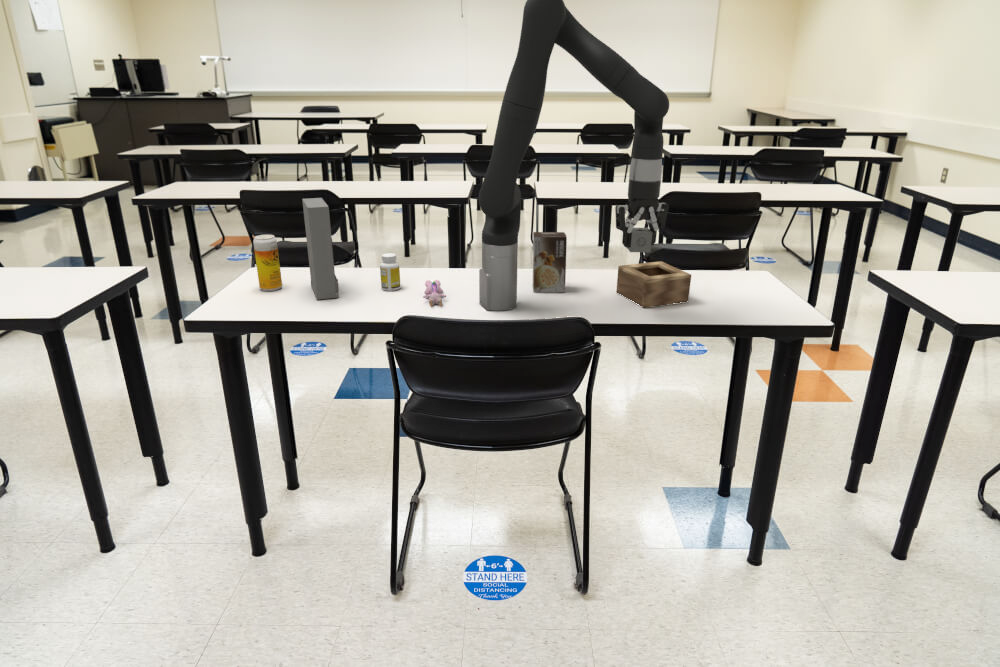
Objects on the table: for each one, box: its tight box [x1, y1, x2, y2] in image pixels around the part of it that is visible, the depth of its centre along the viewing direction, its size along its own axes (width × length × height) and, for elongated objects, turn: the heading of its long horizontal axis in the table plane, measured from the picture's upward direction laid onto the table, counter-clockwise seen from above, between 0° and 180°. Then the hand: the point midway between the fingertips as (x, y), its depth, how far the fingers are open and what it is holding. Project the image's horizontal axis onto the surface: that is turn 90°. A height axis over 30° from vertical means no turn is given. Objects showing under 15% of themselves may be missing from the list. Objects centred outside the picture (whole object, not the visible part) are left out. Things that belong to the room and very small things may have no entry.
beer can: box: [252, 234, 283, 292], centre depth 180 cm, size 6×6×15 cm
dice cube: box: [626, 227, 653, 253], centre depth 160 cm, size 5×5×5 cm
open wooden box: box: [616, 260, 692, 308], centre depth 177 cm, size 14×14×8 cm
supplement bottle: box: [379, 252, 401, 292], centre depth 182 cm, size 5×5×10 cm
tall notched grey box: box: [302, 197, 340, 301], centre depth 176 cm, size 14×6×25 cm, turn 22°
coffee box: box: [532, 231, 568, 294], centre depth 181 cm, size 9×6×16 cm
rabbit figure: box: [422, 279, 447, 308], centre depth 175 cm, size 6×6×15 cm
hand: (638, 245), depth 161 cm, fingers closed on dice cube, 6 cm apart
